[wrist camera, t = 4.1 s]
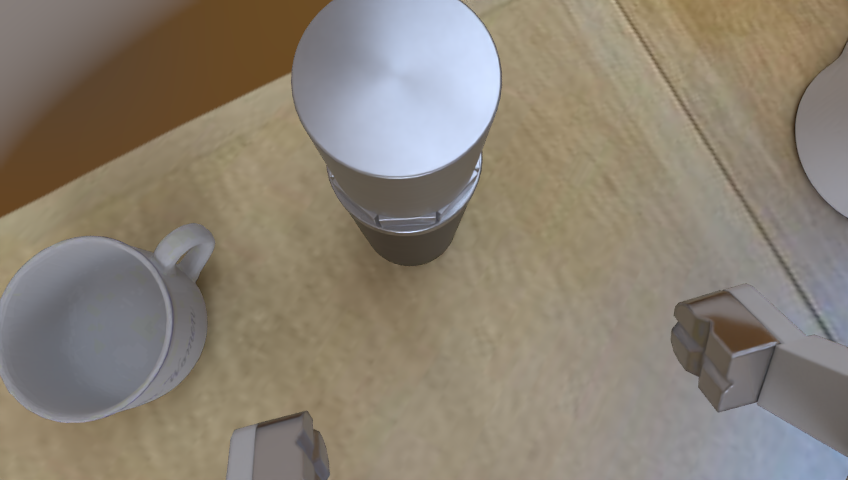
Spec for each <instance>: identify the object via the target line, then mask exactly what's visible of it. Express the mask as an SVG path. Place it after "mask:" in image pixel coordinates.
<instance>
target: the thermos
mask: <svg viewBox="0 0 848 480" xmlns="http://www.w3.org/2000/svg"><path fill="white" fill-rule="evenodd" d="M326 166H327V165H326ZM481 169H482V152H481V154H480V170H479V172H478V176H477V178H476V181H475V183H474V184H473V185H472V186H471V187H470V188H469V190H468V191H467V192H466V193H465V194H464V195H463V196H462V197H461V198H460V200H459V201H458V202H457V203H456V204H455V205H454V206H453V207H452V208H451V210H450V211H449V212H448V213H447V214H446V215H445V216H444V217H443V219H442V220H441V221H439V220H438V219H437V218H436V221H435V223H434V224H419V225H402V226H385V227H382V226H381V224H380V222H378V224H374V223H373V222H372V221H371V220H370V219H369V218H368V217H367V216H365V215H364V214H363V213H362V212H361V211H360V210H359V209H358V208H356V207H355V206H354V205H353V204H352V203H351V202H350V201H348V200H347V199H346V198H345V197H344V196H343V195H342V194H341V193H339V192H338V191H337V189H336V188H335V186H334V185H333V183H332V180H331V179H330V177H329V168H328V166H327V173H328V177H329V181H330V183H331V186H332V188H333V190H334V192H335V194H336V196H337V198H338V199H339V201H340V202H341V203H342V205H343V206H344V207H345V209H346V210H347V211H348V212H349V213H350V215H351V216H352V218H353V219H354V221H355V222H356V224H357V225H358V227H359V228H360V230H361V231H362V232H363V234H364V235H365V237H366V238H367V240H368V241H369V243H370V244H371V246H372V247H373V248H374V250H375V251H376V252H377V253H378V254H379V255H381V256H382V257H383V258H385V259H386V260H388V261H390V262H393V263H395V264H399V265H404V266H416V265H422V264H425V263H428V262H430V261H432V260H434V259H436V258H437V257H438V256H440V255H441V254H442V253H443V252H444V251H445V250H446V249H447V248H448V246H449V245H450V243H451V241H452V240H453V237H454V235H455V233H456V230H457V228H458V226H459V223H460V221H461V219H462V216H463V214H464V212H465V209H466V207H467V205H468V202H469V201H470V199H471V197H472V195H473V193H474V191H475V189H476V186H477V184H478V182H479V178H480V174H481Z"/></svg>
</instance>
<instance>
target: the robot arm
mask: <svg viewBox="0 0 848 480" xmlns="http://www.w3.org/2000/svg"><path fill="white" fill-rule="evenodd" d="M795 137H796V145H797V150H798V154H799V158H800V161H801V164H802V166H803V168H804V171H805V173H806V175H807V176H808V178H809V180H810V182H811V183H812V185H813V186H814V187H815V189H816V190H817V191H818V193H819V194H820V195H821V196H822V197H823V198H824V200H825V201H826V202H828V203H829V204H830V205H831V206H832V207H833V208H834V209H836V210H837V211H838V212H839V213H841V214H842V215H844V216H845V217H847V218H848V42H847V44H846V46H845V48H844V50H843V52H842V54H841V55H840V57H839V58H838V59H837V60H835V61H834V62H833V63H832V64H830V65H829V66H828V67H827V68H825V69H824V70H823V71H822V72H820V73H819V74H818V75H817V76H816V77H815V78H814V80H813V81H812V82H811V83H810V85H809V86H808V88H807V89H806V91H805V93H804V95H803V97H802V99H801V101H800V104H799V107H798V111H797V116H796V124H795ZM674 316H675V318H676V319H677V320H678V323H677V324H676V325H675V326H674V327H673V328H672V331H671V343H672V347H673V351H674V353H675V355H676V357H677V359H678V361H679V362H680V364H681V365H682V366H683V368H684V369H685V370H686V371H688V372H690V373H692V374H694V375H696V376H698V377H699V381H698V388H699V389H700V390H701V391H702V393H703V394H704V395H705V397H706V398H707V399H708V400H709V402H710V403H711V404H712V406H713V407H714V408H715V409H716V411H717V412H722V411H726V410H729V409H733V408H737V407H741V406H744V405H748V404H752V403H755V402H757V405H759V406H760V407H762V408H764V409H766V410H767V411H769V412H771V413H772V414H774V415H776V416H778V417H779V418H781V419H783V420H785V421H786V422H788V423H790V424H791V425H793V426H795V427H797V428H798V429H800V430H802V431H803V432H805V433H807V434H809V435H810V436H812V437H814V438H815V439H817V440H819V441H821V442H822V443H824V444H826V445H827V446H829V447H831V448H833V449H834V450H836V451H838V452H840V453H841V454H843V455H845V456H846V457H848V347H846V346H844V345H841V344H838V343H835V342H833V341H830V340H827V339H825V338H822V337H819V336H817V335H810V336H806V335H805V334H804V333H803V332H802V331H801V330H800V329H799V328H798V327H797V326H796V325H794V324H793V323H792V322H791V321H790V320H789V319H788V318H787V317H786V316H785V315H784V314H782V313H781V312H780V311H779V310H778V309H777V308H776V307H775V306H774V305H773V304H772V303H771V302H769V301H768V300H767V299H766V298H765V297H764V296H763V295H762V294H761V293H760V292H759V291H757V290H756V289H755V288H754V287H753V286H751V285H749V284H741V285H738V286H735V287H731V288H728V289H725V290H722V291H721V290H719V291H716V292H712V293H709V294H706V295H702V296H699V297H696V298H693V299H689V300H686V301H683V302H679V303H678V304H677V305H676V307H675V310H674ZM329 476H330V470H329V460H328V454H327V449H326V446H325V443H324V440H323V437H322V435H321V434H320V432H319V431H317V430H314V429H313V419H312V417H311V416H310V414H309V412H308V411H303V412H300V413H296V414H292V415H288V416H284V417H280V418H276V419H273V420H269V421H265V422H261V423H257V424H253V425H250V426H246V427H243V428H239V429H236V430H234V432H233V434H232V437H231V440H230V449H229V458H228V467H227V475H226V480H327V479H328V477H329ZM846 480H848V476H847V478H846Z"/></svg>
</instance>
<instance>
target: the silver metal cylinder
mask: <svg viewBox="0 0 848 480" xmlns="http://www.w3.org/2000/svg"><path fill="white" fill-rule="evenodd" d="M291 85H292V96H293V100H294V104H295V108H296V111H297V114H298V116H299V119H300V121H301V123H302V125H303V127H304V128H305V130H306V132H307V134H308V135H309V137H310V139H311V140H312V142H313V143H314V145H315V147H316V148H317V150H318V152H319V153H320V155H321V157H322V158H323V160H324V161H325V163H326V165H327V166H328V168H329V177H330V179H331V180H332V183H333V185H334V186H335V188H336V189H337V191H338V192H339V193H341V194H342V195H343V196H344V197H345V198H346V199H347V200H348V201H350V202H351V203H352V204H353V205H354V206H355V207H356V208H358V209H359V210H360V211H361V212H362V213H363V214H364V215H365V216H367V217H368V218H369V219H370V220H371V221H372V222H373V223H374V224H378V222H380V224H381V226H382V227H385V226H402V225H419V224H434V223H435V221H436V218H437V219H438V220H439V221H441V220H442V219H443V217H444V216H445V215H446V214H447V213H448V212H449V211H450V210H451V208H452V207H453V206H454V205H455V204H456V203H457V202H458V201H459V200H460V198H461V197H462V196H463V195H464V194H465V193H466V192H467V191H468V190H469V188H470V187H471V186H472V185H473V184H474V183H475V181H476V178H477V176H478V172H479V170H480V154H481V152H482V149H483V146H484V144H485V141H486V138H487V136H488V133H489V130H490V128H491V125H492V122H493V120H494V117H495V114H496V112H497V109H498V105H499V101H500V97H501V89H502V70H501V63H500V58H499V55H498V51H497V48H496V45H495V43H494V41H493V39H492V36H491V34H490V33H489V31H488V30H487V28H486V26H485V25H484V23H483V22H482V21H481V20H480V18H479V17H478V16H477V15H476V13H475V12H474V11H472V10H471V9H470V8H469V7H468V6H467V5H466V4H465V3H463V2H462V1H461V0H333V1H332V2H330V3H329V4H328V5H327V6H326V7H324V8H323V9H322V10H321V11H320V12H319V13H318V14H317V16H316V17H315V18H314V19H313V20H312V21H311V23H310V24H309V26H308V27H307V29H306V31H305V32H304V34H303V36H302V38H301V40H300V42H299V44H298V47H297V50H296V53H295V56H294V61H293V66H292V77H291Z"/></svg>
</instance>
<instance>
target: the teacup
mask: <svg viewBox="0 0 848 480" xmlns="http://www.w3.org/2000/svg"><path fill="white" fill-rule="evenodd" d="M214 246H215V239H214V237H213V235H212V234H211V232H210V231H209V230H208V229H206V228H205V227H204V226H203V225H200V224H196V223H191V224H187V225H183V226H181V227H179V228H177V229H175V230H173V231H172V232H171V233H169V234H168V235H167V236H166V237H165V238H164V239H163V240H162V241H161V242H160V243H159V245H158V246H157V248H156V250H155V251H154V253H152V252H149V251H146V250H143V249H139V248H136V247H133V246H129V245H127V244H125V243H123V242H121V241H118V240H116V239H112V238H108V237H101V236H82V237H75V238H70V239H67V240H64V241H61V242H59V243H56V244H54V245H52V246H50V247H48V248H46V249H43V250H42V251H40V252H39V253H38V254H36V255H35V256H33V257H32V258H31V259H30V260H29V261H27V262H26V263H25V264H24V265H23V266H22V267H21V268H20V269H19V270H18V271H17V273H16V274H15V275H14V277H13V278H12V280H11V281H10V282H9V284H8V286H7V287H6V289H5V291H4V293H3V295H2V297H1V299H0V376H1V378H2V380H3V382H4V384H5V386H6V388H7V390H8V391H9V393H10V394H12V395H13V396H14V397H15V399H16V400H17V401H18V402H19V403H20V404H22V405H23V406H24V407H25V408H27V409H28V410H30V411H31V412H33V413H35V414H37V415H39V416H41V417H43V418H46V419H49V420H53V421H58V422H66V423H70V422H75V423H80V422H88V421H94V420H98V419H101V418H104V417H108V416H110V415H112V414H115V413H117V412H120V411H124V410H127V409H131V408H134V407H137V406H140V405H143V404H146V403H148V402H150V401H153V400H155V399H157V398H159V397H161V396H163V395H164V394H166V393H168V392H169V391H171V390H172V389H173V388H174V387H176V386H177V385H178V384H179V383H180V382H181V381H182V380H183V379H184V378H185V377H186V376H187V375H188V374H189V373H190V371H191V370H192V369H193V367H194V366H195V364H196V362H197V361H198V359H199V357H200V355H201V353H202V350H203V347H204V344H205V340H206V335H207V325H208V321H207V310H206V305H205V302H204V299H203V296H202V294H201V292H200V290H199V288H198V286H197V285H196V280H197V279H198V278H199V274H200V271H201V270H202V268H203V267H204V265H205V264H206V262H207V261H208V259H209V257H210V256H211V254H212V252H213V250H214ZM188 250H189V251H188ZM187 251H188V252H187ZM185 252H187V254H186V255H185V257H184V258H183V259H182V261H181V262H180V263H179V264H176V262H177V261H178V259H179V258H180V257H181V256H182V255H183V254H184V253H185Z"/></svg>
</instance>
